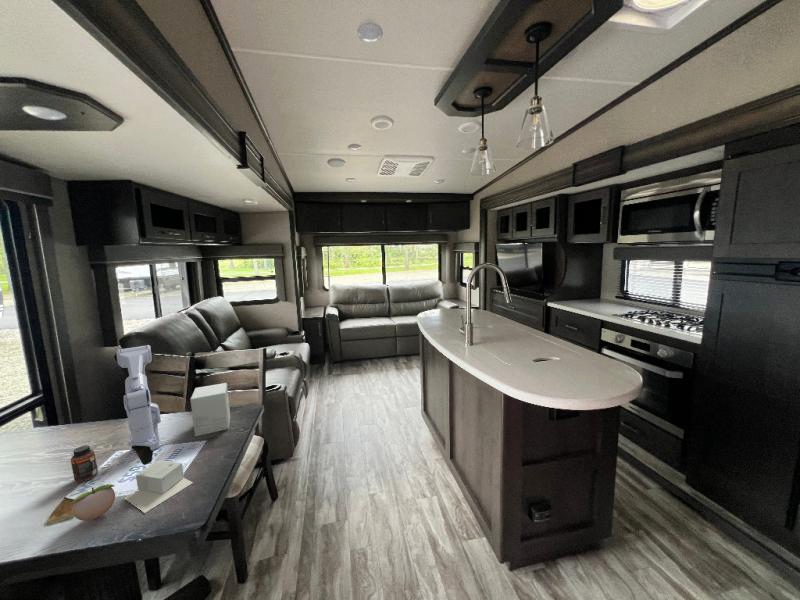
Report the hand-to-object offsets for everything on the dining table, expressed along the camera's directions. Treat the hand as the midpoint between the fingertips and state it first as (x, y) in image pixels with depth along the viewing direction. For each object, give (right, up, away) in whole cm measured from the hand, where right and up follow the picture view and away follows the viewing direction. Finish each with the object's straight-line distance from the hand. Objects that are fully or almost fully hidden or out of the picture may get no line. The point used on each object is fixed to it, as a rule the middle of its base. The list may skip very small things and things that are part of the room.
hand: (147, 462), depth 104 cm
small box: (-2, -5, +2) cm, 6 cm away
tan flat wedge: (-18, -11, -9) cm, 23 cm away
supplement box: (-1, -3, +38) cm, 38 cm away
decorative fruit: (-5, -11, -12) cm, 17 cm away
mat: (+5, -9, -1) cm, 10 cm away
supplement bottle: (-26, -8, +6) cm, 28 cm away
